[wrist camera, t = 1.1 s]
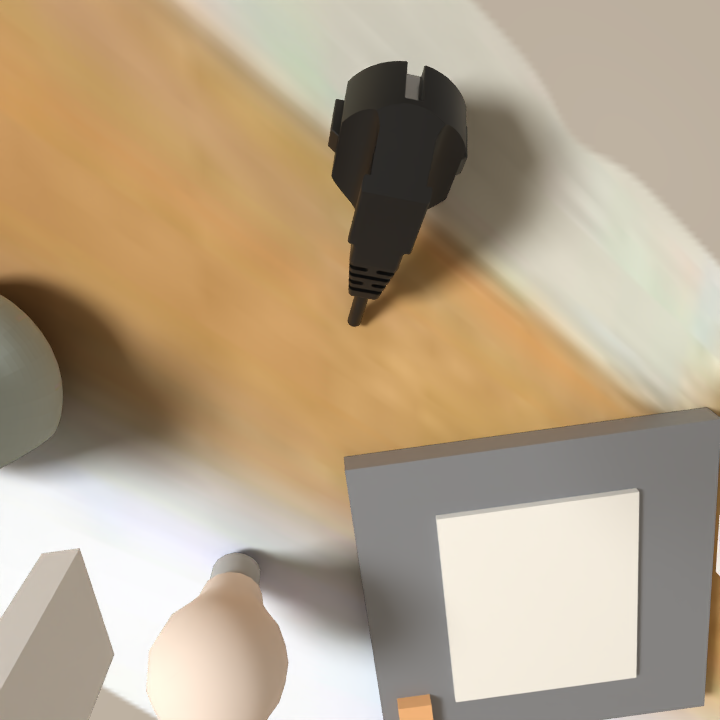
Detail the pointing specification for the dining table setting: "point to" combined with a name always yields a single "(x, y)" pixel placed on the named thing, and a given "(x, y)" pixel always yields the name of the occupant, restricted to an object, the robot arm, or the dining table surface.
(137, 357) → the dining table surface
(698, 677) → the socket board
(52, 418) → the air freshener
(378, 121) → the power plug
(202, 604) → the light bulb
